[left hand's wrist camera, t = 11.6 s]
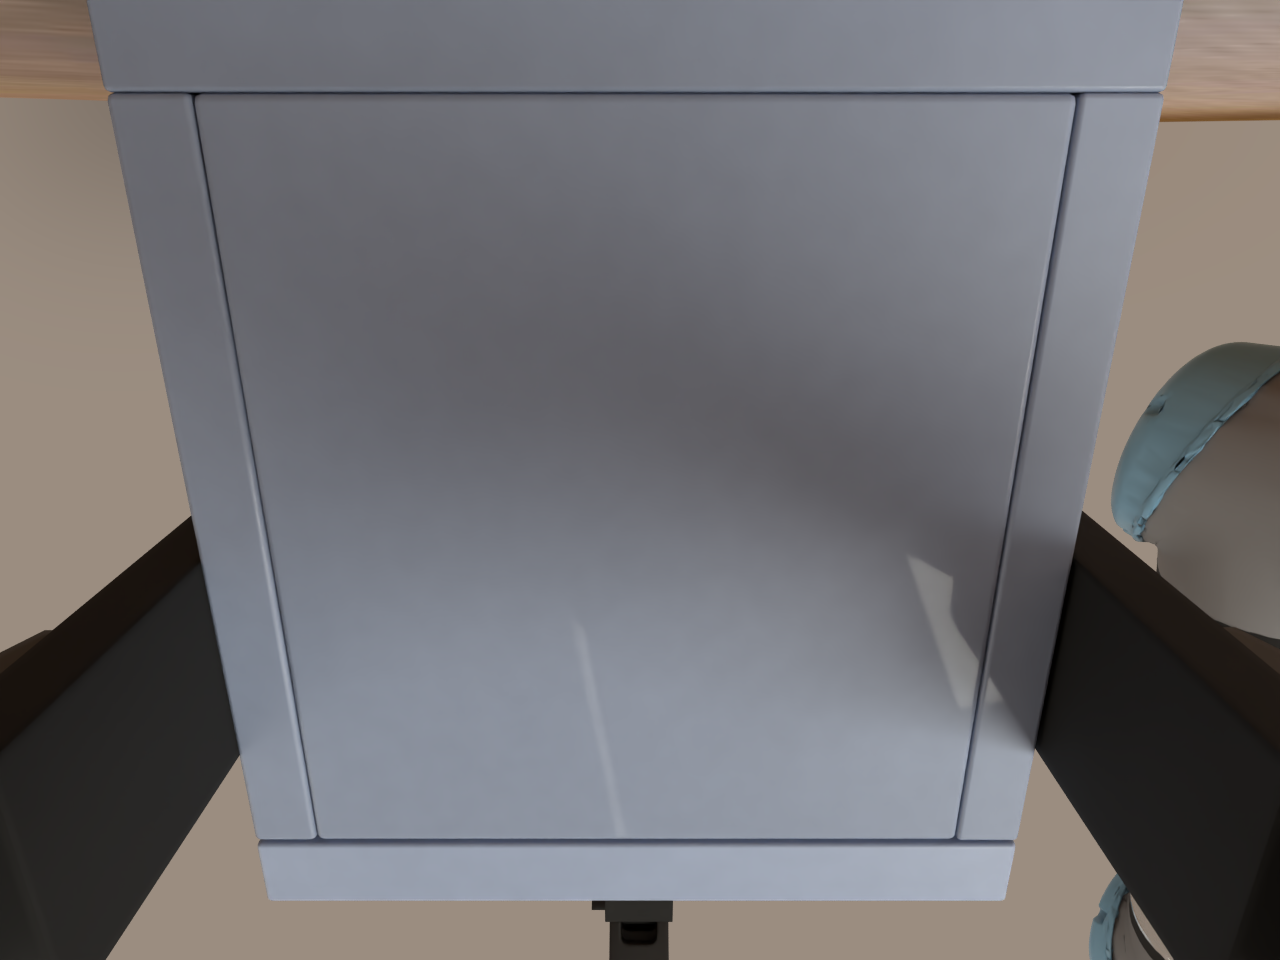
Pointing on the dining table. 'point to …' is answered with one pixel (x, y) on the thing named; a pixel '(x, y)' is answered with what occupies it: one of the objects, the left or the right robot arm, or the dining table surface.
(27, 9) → the dining table surface
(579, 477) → the chest
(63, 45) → the dining table surface
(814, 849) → the lid
